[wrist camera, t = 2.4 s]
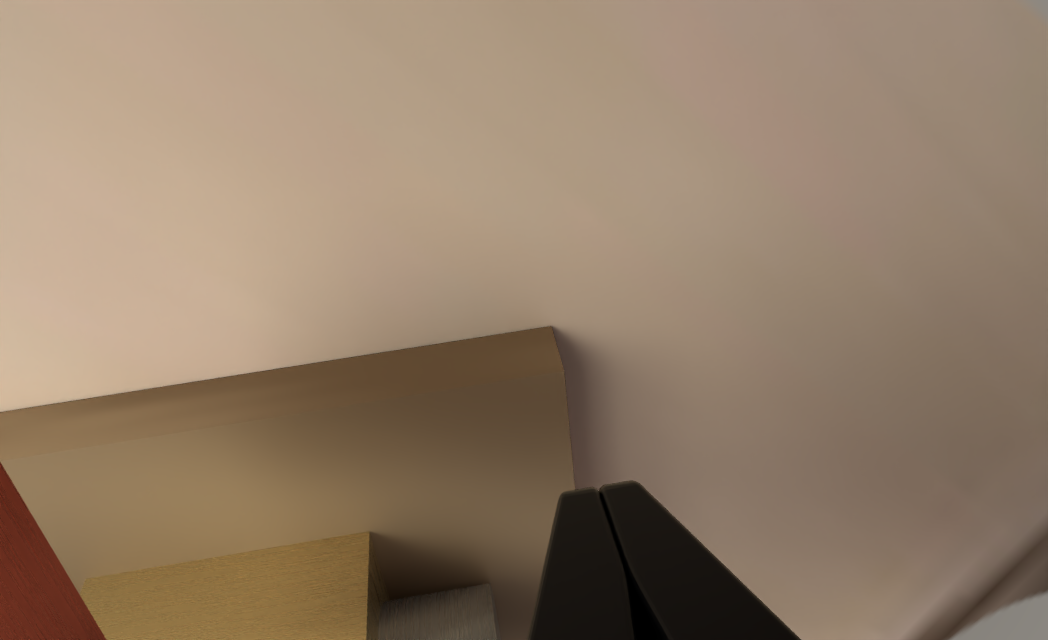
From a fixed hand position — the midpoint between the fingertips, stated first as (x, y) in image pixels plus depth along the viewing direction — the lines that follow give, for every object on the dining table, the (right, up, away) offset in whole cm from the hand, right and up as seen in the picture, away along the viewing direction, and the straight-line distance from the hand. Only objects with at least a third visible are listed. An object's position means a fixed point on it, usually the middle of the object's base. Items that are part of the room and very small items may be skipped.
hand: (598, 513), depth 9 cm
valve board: (-7, -4, +10) cm, 13 cm away
